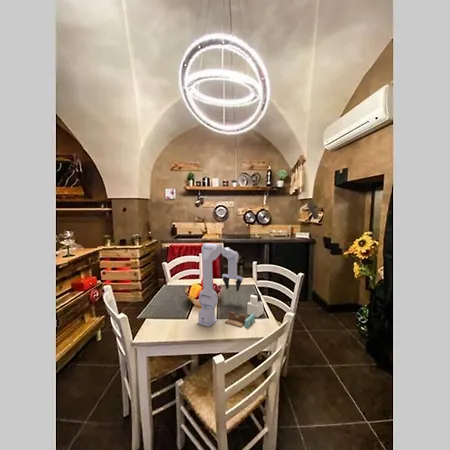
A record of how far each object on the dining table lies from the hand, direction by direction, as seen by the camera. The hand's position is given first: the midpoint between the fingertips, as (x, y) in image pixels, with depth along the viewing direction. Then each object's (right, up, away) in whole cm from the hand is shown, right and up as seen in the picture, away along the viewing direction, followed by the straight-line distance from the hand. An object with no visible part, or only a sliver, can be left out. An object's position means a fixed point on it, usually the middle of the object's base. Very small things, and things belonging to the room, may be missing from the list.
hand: (232, 289), depth 167 cm
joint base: (+2, -12, -23) cm, 26 cm away
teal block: (+9, -12, -26) cm, 30 cm away
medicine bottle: (+13, -12, -13) cm, 22 cm away
